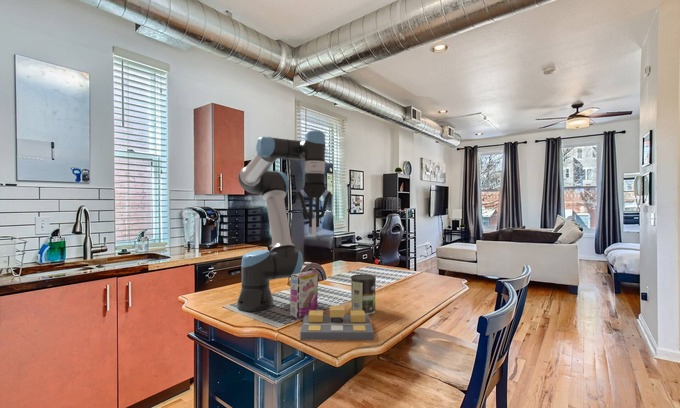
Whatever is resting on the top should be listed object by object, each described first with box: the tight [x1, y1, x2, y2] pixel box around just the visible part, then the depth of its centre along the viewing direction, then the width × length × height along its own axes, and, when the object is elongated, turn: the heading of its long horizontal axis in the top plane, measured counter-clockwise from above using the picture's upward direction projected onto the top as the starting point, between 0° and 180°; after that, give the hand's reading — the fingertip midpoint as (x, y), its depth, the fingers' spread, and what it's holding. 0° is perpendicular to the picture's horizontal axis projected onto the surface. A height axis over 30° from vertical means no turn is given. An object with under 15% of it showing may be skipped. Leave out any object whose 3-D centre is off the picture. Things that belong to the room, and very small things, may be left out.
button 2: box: [329, 305, 345, 322], centre depth 114 cm, size 5×5×5 cm
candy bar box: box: [289, 270, 319, 319], centre depth 127 cm, size 11×5×16 cm, turn 141°
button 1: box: [308, 309, 324, 322], centre depth 114 cm, size 5×5×5 cm
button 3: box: [349, 309, 365, 322], centre depth 114 cm, size 5×5×5 cm
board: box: [299, 314, 375, 341], centre depth 111 cm, size 24×16×3 cm, turn 91°
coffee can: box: [350, 273, 377, 316], centre depth 131 cm, size 10×10×14 cm
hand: (314, 235), depth 119 cm, fingers closed
